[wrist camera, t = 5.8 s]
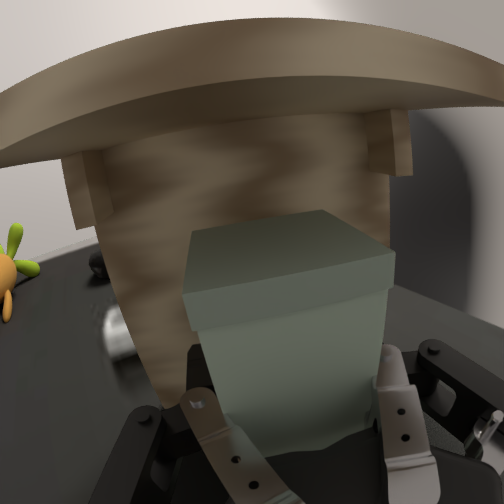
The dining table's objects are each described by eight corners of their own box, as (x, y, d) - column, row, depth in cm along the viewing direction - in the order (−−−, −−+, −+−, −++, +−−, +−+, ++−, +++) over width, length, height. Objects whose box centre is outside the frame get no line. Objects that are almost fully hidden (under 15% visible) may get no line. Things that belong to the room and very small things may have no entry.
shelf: (158, 521, 9) (-55, 131, 3) (165, 398, 18) (83, 133, 12) (441, 449, 11) (514, 70, 5) (372, 354, 19) (370, 93, 13)
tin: (253, 500, 11) (181, 294, 6) (240, 427, 15) (191, 231, 11) (355, 474, 11) (395, 252, 7) (325, 407, 16) (322, 209, 12)
